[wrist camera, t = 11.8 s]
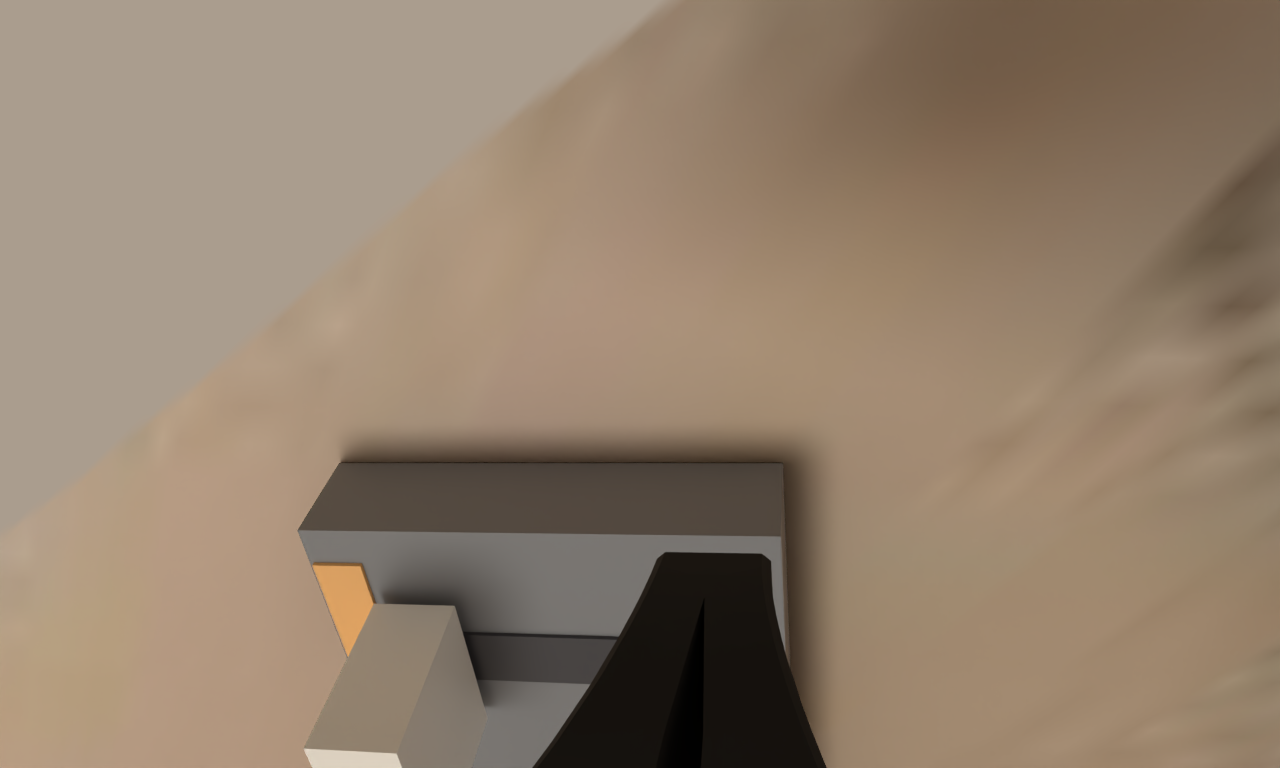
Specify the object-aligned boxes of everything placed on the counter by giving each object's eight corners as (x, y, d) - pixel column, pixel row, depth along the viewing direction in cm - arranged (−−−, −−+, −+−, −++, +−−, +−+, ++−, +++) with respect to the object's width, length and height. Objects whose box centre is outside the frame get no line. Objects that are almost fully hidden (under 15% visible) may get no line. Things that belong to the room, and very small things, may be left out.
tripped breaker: (454, 605, 23) (396, 753, 20) (487, 717, 25) (439, 868, 22) (373, 603, 23) (303, 748, 20) (413, 714, 26) (355, 861, 22)
